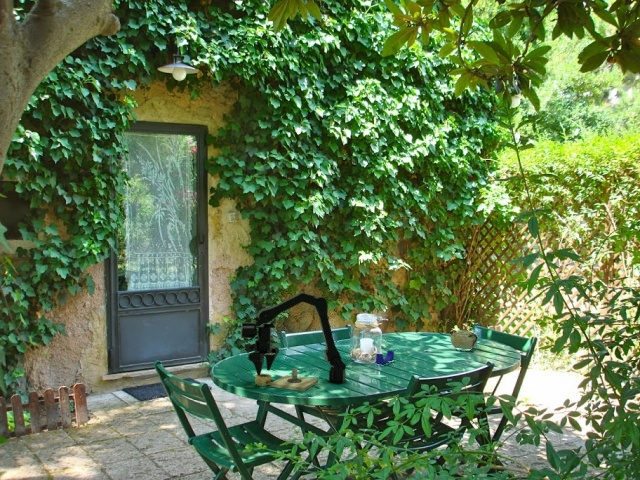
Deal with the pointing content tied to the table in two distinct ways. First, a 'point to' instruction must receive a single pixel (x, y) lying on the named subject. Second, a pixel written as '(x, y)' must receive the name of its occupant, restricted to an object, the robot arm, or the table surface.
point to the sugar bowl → (463, 338)
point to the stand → (294, 382)
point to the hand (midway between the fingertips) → (263, 372)
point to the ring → (263, 379)
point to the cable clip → (388, 358)
